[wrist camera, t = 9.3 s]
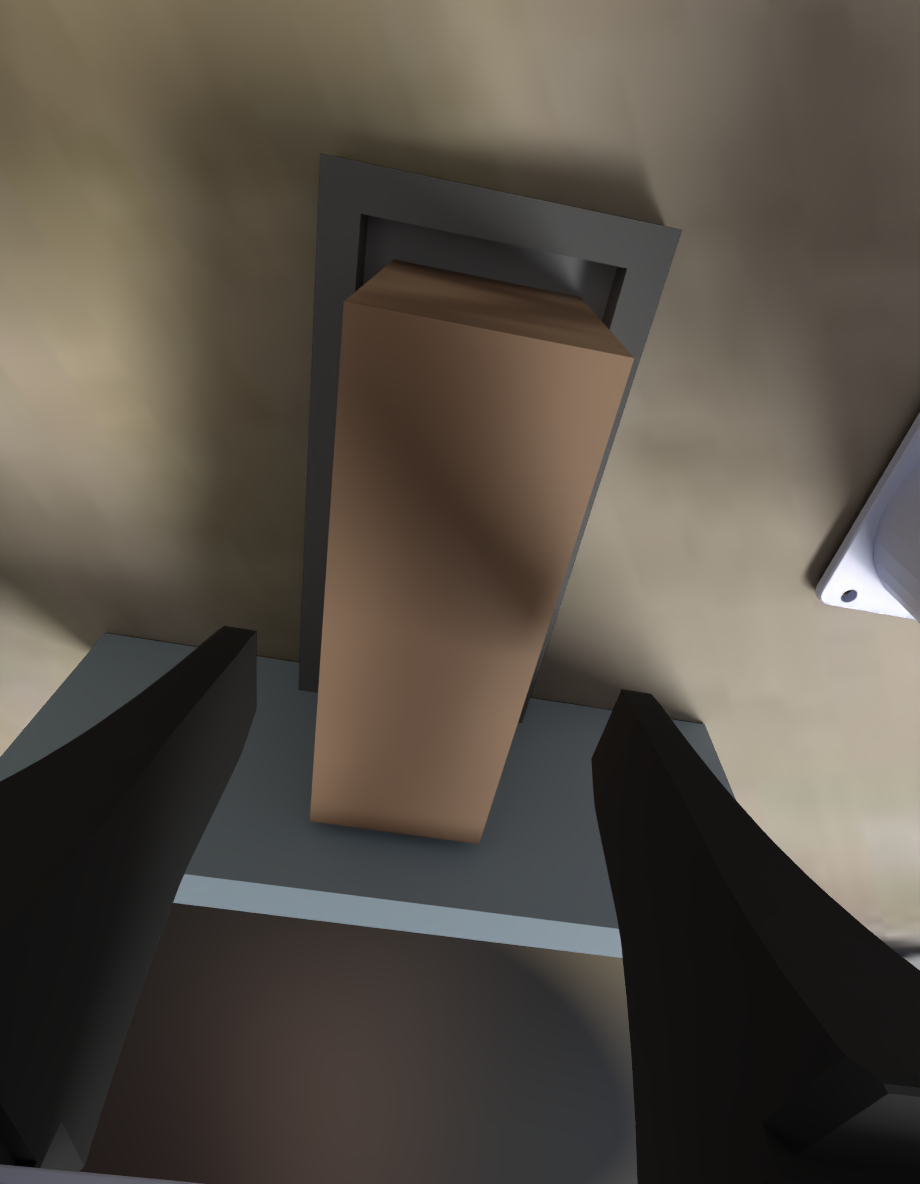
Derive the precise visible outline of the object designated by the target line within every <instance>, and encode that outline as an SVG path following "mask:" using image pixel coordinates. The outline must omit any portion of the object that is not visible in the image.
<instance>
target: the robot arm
mask: <svg viewBox="0 0 920 1184" xmlns="http://www.w3.org/2000/svg"><path fill="white" fill-rule="evenodd" d="M848 590H851V591H850V592H849V593H848V594H847V595H844V596H841V595H842V594H843V593H844V592H845V591H848ZM815 593H816V596H817V597H818V598H819V600H820V601H821V602H822V603H824V604H826V605H831V606H837V607H843V608H849V609H855V610H861V611H866V612H872V613H878V614H884V615H890V616H896V617H902V618H908V619H914V620H917V621H918V622H919V623H920V413H919V414H918V416H917V418H916V419H915V421H914V423H913V424H912V426H911V428H910V429H909V431H908V433H907V434H906V436H905V438H904V439H903V441H902V443H901V445H900V446H899V448H898V450H897V451H896V453H895V455H894V456H893V458H892V460H891V461H890V463H889V465H888V466H887V468H886V470H885V472H884V473H883V475H882V477H881V478H880V480H879V482H878V483H877V485H876V487H875V488H874V490H873V492H872V493H871V495H870V497H869V499H868V500H867V502H866V504H865V505H864V507H863V509H862V510H861V512H860V514H859V515H858V517H857V519H856V520H855V522H854V524H853V526H852V527H851V529H850V531H849V532H848V534H847V536H846V537H845V539H844V541H843V542H842V544H841V546H840V547H839V549H838V551H837V553H836V554H835V556H834V558H833V559H832V561H831V563H830V564H829V566H828V568H827V569H826V571H825V573H824V574H823V576H822V578H821V580H820V581H819V583H818V585H817V587H816V589H815ZM256 709H257V631H253V630H247V629H240V628H234V627H228V626H224V627H222V628H220V629H219V630H218V631H216V632H215V633H214V634H213V635H212V636H210V637H209V638H208V639H207V640H206V641H204V642H203V643H202V644H201V645H200V646H199V647H197V648H196V649H195V650H194V651H193V652H191V653H190V654H189V655H188V656H187V657H185V658H184V659H183V660H182V661H180V662H179V663H178V664H177V665H175V666H174V667H173V668H172V669H171V670H169V671H168V672H167V673H165V674H164V675H163V676H162V677H160V678H159V679H158V680H156V681H155V682H154V683H153V684H151V685H150V686H149V687H147V688H146V689H145V690H143V691H142V692H141V693H140V694H138V695H137V696H136V697H134V698H133V699H132V700H130V701H129V702H127V703H126V704H124V705H123V706H122V707H120V708H119V709H117V710H116V711H114V712H113V713H112V714H110V715H109V716H107V717H106V718H105V719H103V720H102V721H100V722H99V723H97V724H96V725H95V726H93V727H92V728H90V729H89V730H87V731H85V732H84V733H82V734H81V735H79V736H78V737H76V738H75V739H73V740H71V741H70V742H68V743H67V744H65V745H63V746H62V747H60V748H59V749H57V750H55V751H54V752H52V753H50V754H49V755H47V756H45V757H44V758H42V759H40V760H39V761H37V762H35V763H33V764H32V765H30V766H28V767H26V768H24V769H22V770H21V771H19V772H17V773H15V774H13V775H11V776H9V777H7V778H6V779H4V780H2V781H0V1184H201V1183H189V1182H180V1181H169V1180H158V1179H148V1178H137V1177H126V1176H116V1175H106V1174H94V1173H85V1172H84V1173H83V1172H79V1171H80V1170H81V1169H82V1168H83V1167H84V1165H85V1162H86V1159H87V1156H88V1153H89V1149H90V1146H91V1142H92V1139H93V1136H94V1133H95V1130H96V1127H97V1124H98V1120H99V1117H100V1114H101V1111H102V1108H103V1104H104V1101H105V1098H106V1095H107V1092H108V1089H109V1086H110V1082H111V1079H112V1076H113V1073H114V1070H115V1067H116V1064H117V1060H118V1058H119V1055H120V1052H121V1049H122V1046H123V1043H124V1040H125V1037H126V1034H127V1031H128V1028H129V1025H130V1022H131V1019H132V1016H133V1013H134V1010H135V1007H136V1004H137V1001H138V998H139V996H140V993H141V990H142V987H143V984H144V981H145V979H146V975H147V973H148V970H149V967H150V965H151V962H152V959H153V956H154V953H155V950H156V948H157V945H158V942H159V939H160V936H161V934H162V931H163V928H164V925H165V923H166V920H167V918H168V915H169V912H170V910H171V907H172V904H173V901H174V899H175V896H176V893H177V891H178V888H179V885H180V883H181V881H182V878H183V876H184V874H185V872H186V869H187V867H188V865H189V862H190V860H191V858H192V856H193V854H194V852H195V850H196V848H197V846H198V844H199V842H200V840H201V837H202V835H203V833H204V831H205V829H206V827H207V825H208V823H209V821H210V819H211V817H212V815H213V813H214V811H215V809H216V807H217V804H218V802H219V800H220V798H221V796H222V794H223V792H224V790H225V788H226V786H227V784H228V782H229V780H230V777H231V775H232V773H233V771H234V769H235V767H236V765H237V763H238V761H239V758H240V756H241V754H242V751H243V748H244V745H245V742H246V739H247V737H248V734H249V731H250V728H251V725H252V722H253V718H254V715H255V712H256ZM591 763H592V780H593V793H594V805H595V811H596V817H597V822H598V827H599V832H600V837H601V842H602V847H603V852H604V857H605V862H606V867H607V872H608V876H609V881H610V886H611V891H612V896H613V901H614V906H615V910H616V915H617V921H618V927H619V933H620V939H621V947H622V957H623V966H624V976H625V985H626V995H627V1006H628V1018H629V1030H630V1042H631V1055H632V1070H633V1088H634V1102H635V1103H634V1104H635V1121H636V1148H637V1177H638V1184H920V970H918V969H917V968H916V967H914V966H913V965H912V964H911V963H909V962H908V961H907V960H905V959H904V958H903V957H902V956H900V955H899V954H898V953H896V952H895V951H894V950H893V949H891V948H890V947H889V946H888V945H886V944H885V943H884V942H883V941H882V940H880V939H879V938H878V937H877V936H875V935H874V934H873V933H872V932H871V931H869V930H868V929H867V928H866V927H865V926H863V925H862V924H861V923H860V922H859V921H858V920H856V919H855V918H854V917H853V916H852V915H851V914H850V913H848V912H847V911H846V910H845V909H844V908H843V907H842V906H840V905H839V904H838V903H837V902H836V901H835V900H834V899H832V898H831V897H830V896H829V895H828V894H827V893H826V892H825V891H823V890H822V889H821V888H820V887H819V886H818V885H817V884H816V883H815V882H814V881H813V880H812V879H811V878H809V877H808V876H807V875H806V874H805V873H804V872H803V871H802V870H801V869H800V868H799V867H798V866H797V865H796V864H795V863H794V862H793V861H792V860H791V859H790V858H789V857H788V856H787V855H786V854H785V853H784V852H783V851H782V850H781V849H780V848H779V847H778V846H777V845H776V844H775V843H774V842H773V841H772V840H771V839H770V838H769V837H768V836H767V834H766V833H765V832H764V831H763V830H762V829H761V828H760V827H759V826H758V825H757V824H756V823H755V821H754V820H753V819H752V818H751V817H750V816H749V815H748V814H747V812H746V811H745V810H744V809H743V808H742V807H741V806H740V805H739V803H738V802H737V801H736V800H735V799H734V798H733V796H732V795H731V794H730V793H729V792H728V791H727V789H726V788H725V787H724V786H723V785H722V783H721V782H720V781H719V780H718V779H717V777H716V776H715V775H714V774H713V772H712V771H711V770H710V769H709V767H708V766H707V765H706V764H705V762H704V761H703V760H702V759H701V757H700V756H699V755H698V754H697V752H696V751H695V750H694V748H693V747H692V746H691V745H690V743H689V742H688V741H687V739H686V738H685V737H684V735H683V734H682V733H681V732H680V730H679V729H678V728H677V726H676V725H675V724H674V722H673V721H672V720H671V718H670V717H669V716H668V714H667V713H666V712H665V711H664V709H663V708H662V707H661V705H660V704H659V703H658V702H657V700H656V699H655V698H654V697H653V695H652V694H648V693H642V692H635V691H629V690H623V689H622V690H621V692H620V694H619V697H618V699H617V701H616V703H615V706H614V708H613V710H612V713H611V715H610V717H609V719H608V722H607V724H606V726H605V729H604V731H603V733H602V735H601V738H600V740H599V742H598V745H597V747H596V749H595V751H594V754H593V756H592V758H591Z"/></svg>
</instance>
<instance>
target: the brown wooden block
mask: <svg viewBox="0 0 920 1184" xmlns="http://www.w3.org/2000/svg"><path fill="white" fill-rule="evenodd" d="M633 361H634V357H633V356H632V355H631V354H630V353H629V351H628V350H627V349H626V348H625V347H624V346H623V345H622V344H621V342H620V341H619V340H618V339H617V338H616V337H615V336H614V334H613V333H612V332H611V331H610V330H609V329H608V328H607V327H606V325H605V324H604V323H603V322H602V321H601V320H600V319H599V317H598V316H597V315H596V314H595V313H594V312H593V311H592V310H591V308H590V307H589V306H588V305H587V304H586V303H585V302H584V300H583V299H582V298H581V297H579V296H574V295H569V294H564V293H559V292H554V291H549V290H544V289H539V288H534V287H529V286H524V285H519V284H514V283H509V282H504V281H499V280H494V279H489V278H484V277H479V276H474V275H469V274H464V273H460V272H455V271H450V270H445V269H440V268H435V267H430V266H425V265H420V264H415V263H410V262H405V261H400V260H395V259H394V260H393V261H392V262H390V263H389V264H388V265H387V266H386V267H384V268H383V269H382V270H381V271H380V272H378V273H377V274H376V275H375V276H374V277H372V278H371V279H370V280H369V281H368V282H367V283H365V284H364V285H363V286H362V287H361V288H359V289H358V290H357V291H356V292H355V293H353V294H352V295H351V296H350V297H349V298H347V299H346V300H345V301H344V308H343V323H342V339H341V354H340V369H339V384H338V399H337V415H336V430H335V445H334V460H333V475H332V490H331V506H330V521H329V536H328V551H327V566H326V581H325V597H324V612H323V627H322V642H321V657H320V672H319V688H318V703H317V718H316V733H315V748H314V764H313V779H312V794H311V809H310V821H311V822H318V823H325V824H333V825H340V826H348V827H355V828H363V829H370V830H377V831H385V832H392V833H400V834H407V835H415V836H422V837H429V838H437V839H444V840H452V841H459V842H467V843H474V844H479V843H480V840H481V837H482V833H483V830H484V827H485V824H486V821H487V818H488V815H489V812H490V808H491V805H492V802H493V799H494V796H495V793H496V790H497V787H498V783H499V780H500V777H501V774H502V771H503V768H504V765H505V761H506V758H507V755H508V752H509V749H510V746H511V743H512V740H513V736H514V733H515V730H516V727H517V724H518V721H519V718H520V715H521V711H522V708H523V705H524V702H525V699H526V696H527V693H528V689H529V686H530V683H531V680H532V677H533V674H534V671H535V668H536V664H537V661H538V658H539V655H540V652H541V649H542V646H543V643H544V639H545V636H546V633H547V630H548V627H549V624H550V621H551V618H552V614H553V611H554V608H555V605H556V602H557V599H558V596H559V592H560V589H561V586H562V583H563V580H564V577H565V574H566V571H567V567H568V564H569V561H570V558H571V555H572V552H573V549H574V546H575V542H576V539H577V536H578V533H579V530H580V527H581V524H582V520H583V517H584V514H585V511H586V508H587V505H588V502H589V499H590V495H591V492H592V489H593V486H594V483H595V480H596V477H597V474H598V470H599V467H600V464H601V461H602V458H603V455H604V452H605V448H606V445H607V442H608V439H609V436H610V433H611V430H612V427H613V423H614V420H615V417H616V414H617V411H618V408H619V405H620V402H621V398H622V395H623V392H624V389H625V386H626V383H627V380H628V377H629V373H630V370H631V367H632V364H633Z"/></svg>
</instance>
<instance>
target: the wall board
mask: <svg viewBox="0 0 920 1184" xmlns="http://www.w3.org/2000/svg"><path fill="white" fill-rule="evenodd" d="M681 232H682V230H681V229H676V228H672V227H667V226H662V225H658V224H653V223H648V222H643V221H639V220H634V219H629V218H624V217H620V216H615V215H610V214H605V213H601V212H596V211H591V210H587V209H582V208H577V207H572V206H568V205H563V204H558V203H553V202H549V201H544V200H539V199H534V198H530V197H525V196H520V195H516V194H511V193H506V192H501V191H497V190H492V189H487V188H482V187H478V186H473V185H468V184H463V183H459V182H454V181H449V180H445V179H440V178H435V177H430V176H426V175H421V174H416V173H411V172H407V171H402V170H397V169H392V168H388V167H383V166H378V165H373V164H369V163H364V162H359V161H355V160H350V159H345V158H340V157H336V156H331V155H326V154H321V153H320V174H319V199H318V223H317V247H316V272H315V296H314V320H313V344H312V369H311V393H310V417H309V442H308V466H307V490H306V515H305V539H304V563H303V587H302V612H301V636H300V660H299V663H298V662H292V661H285V660H279V659H272V658H266V657H259V656H257V709H256V712H255V715H254V718H253V722H252V725H251V728H250V731H249V734H248V737H247V739H246V742H245V745H244V748H243V751H242V754H241V756H240V758H239V761H238V763H237V765H236V767H235V769H234V771H233V773H232V775H231V777H230V780H229V782H228V784H227V786H226V788H225V790H224V792H223V794H222V796H221V798H220V800H219V802H218V804H217V807H216V809H215V811H214V813H213V815H212V817H211V819H210V821H209V823H208V825H207V827H206V829H205V831H204V833H203V835H202V837H201V840H200V842H199V844H198V846H197V848H196V850H195V852H194V854H193V856H192V858H191V860H190V862H189V865H188V867H187V869H186V872H185V874H184V876H183V878H182V881H181V883H180V885H179V888H178V891H177V893H176V896H175V899H174V901H173V903H181V904H189V905H197V906H205V907H213V908H214V907H215V908H222V909H230V910H238V911H246V912H254V913H262V914H270V915H278V916H286V917H295V918H304V919H311V920H320V921H327V922H335V923H343V924H352V925H360V926H368V927H376V928H384V929H393V930H401V931H409V932H416V933H425V934H433V935H441V936H449V937H457V938H465V939H474V940H481V941H489V942H498V943H507V944H514V945H522V946H530V947H538V948H546V949H554V950H563V951H571V952H579V953H587V954H595V955H603V956H611V957H619V958H623V957H622V947H621V939H620V933H619V927H618V921H617V915H616V910H615V906H614V901H613V896H612V891H611V886H610V881H609V876H608V872H607V867H606V862H605V857H604V852H603V847H602V842H601V837H600V832H599V827H598V822H597V817H596V811H595V805H594V793H593V780H592V763H591V758H592V756H593V754H594V751H595V749H596V747H597V745H598V742H599V740H600V738H601V735H602V733H603V731H604V729H605V726H606V724H607V722H608V719H609V717H610V715H611V713H612V710H607V709H600V708H594V707H587V706H581V705H574V704H568V703H561V702H554V701H548V700H541V699H535V698H530V697H531V694H532V691H533V688H534V685H535V682H536V679H537V676H538V672H539V669H540V666H541V663H542V660H543V657H544V654H545V651H546V648H547V645H548V642H549V639H550V635H551V632H552V629H553V626H554V623H555V620H556V617H557V614H558V611H559V608H560V605H561V602H562V599H563V595H564V592H565V589H566V586H567V583H568V580H569V577H570V574H571V571H572V568H573V565H574V562H575V558H576V555H577V552H578V549H579V546H580V543H581V540H582V537H583V534H584V531H585V528H586V525H587V521H588V518H589V515H590V512H591V509H592V506H593V503H594V500H595V497H596V494H597V491H598V488H599V484H600V481H601V478H602V475H603V472H604V469H605V466H606V463H607V460H608V457H609V454H610V451H611V447H612V444H613V441H614V438H615V435H616V432H617V429H618V426H619V423H620V420H621V417H622V414H623V410H624V407H625V404H626V401H627V398H628V395H629V392H630V389H631V386H632V383H633V380H634V377H635V373H636V370H637V367H638V364H639V361H640V358H641V355H642V352H643V349H644V346H645V343H646V340H647V336H648V333H649V330H650V327H651V324H652V321H653V318H654V315H655V312H656V309H657V306H658V303H659V299H660V296H661V293H662V290H663V287H664V284H665V281H666V278H667V275H668V272H669V269H670V266H671V263H672V259H673V256H674V253H675V250H676V247H677V244H678V241H679V238H680V235H681ZM394 259H395V260H400V261H405V262H410V263H415V264H420V265H425V266H430V267H435V268H440V269H445V270H450V271H455V272H460V273H464V274H469V275H474V276H479V277H484V278H489V279H494V280H499V281H504V282H509V283H514V284H519V285H524V286H529V287H534V288H539V289H544V290H549V291H554V292H559V293H564V294H569V295H574V296H579V297H581V298H582V299H583V300H584V302H585V303H586V304H587V305H588V306H589V307H590V308H591V310H592V311H593V312H594V313H595V314H596V315H597V316H598V317H599V319H600V320H601V321H602V322H603V323H604V324H605V325H606V327H607V328H608V329H609V330H610V331H611V332H612V333H613V334H614V336H615V337H616V338H617V339H618V340H619V341H620V342H621V344H622V345H623V346H624V347H625V348H626V349H627V350H628V351H629V353H630V354H631V355H632V356H633V357H634V361H633V364H632V367H631V370H630V373H629V377H628V380H627V383H626V386H625V389H624V392H623V395H622V398H621V402H620V405H619V408H618V411H617V414H616V417H615V420H614V423H613V427H612V430H611V433H610V436H609V439H608V442H607V445H606V448H605V452H604V455H603V458H602V461H601V464H600V467H599V470H598V474H597V477H596V480H595V483H594V486H593V489H592V492H591V495H590V499H589V502H588V505H587V508H586V511H585V514H584V517H583V520H582V524H581V527H580V530H579V533H578V536H577V539H576V542H575V546H574V549H573V552H572V555H571V558H570V561H569V564H568V567H567V571H566V574H565V577H564V580H563V583H562V586H561V589H560V592H559V596H558V599H557V602H556V605H555V608H554V611H553V614H552V618H551V621H550V624H549V627H548V630H547V633H546V636H545V639H544V643H543V646H542V649H541V652H540V655H539V658H538V661H537V664H536V668H535V671H534V674H533V677H532V680H531V683H530V686H529V689H528V693H527V696H526V699H525V702H524V705H523V708H522V711H521V715H520V718H519V721H518V724H517V727H516V730H515V733H514V736H513V740H512V743H511V746H510V749H509V752H508V755H507V758H506V761H505V765H504V768H503V771H502V774H501V777H500V780H499V783H498V787H497V790H496V793H495V796H494V799H493V802H492V805H491V808H490V812H489V815H488V818H487V821H486V824H485V827H484V830H483V833H482V837H481V840H480V843H479V844H474V843H467V842H459V841H452V840H444V839H437V838H429V837H422V836H415V835H407V834H400V833H392V832H385V831H377V830H370V829H363V828H355V827H348V826H340V825H333V824H325V823H318V822H311V821H310V809H311V794H312V779H313V764H314V748H315V733H316V718H317V703H318V688H319V672H320V657H321V642H322V627H323V612H324V597H325V581H326V566H327V551H328V536H329V521H330V506H331V490H332V475H333V460H334V445H335V430H336V415H337V399H338V384H339V369H340V354H341V339H342V323H343V308H344V301H345V300H346V299H347V298H349V297H350V296H351V295H352V294H353V293H355V292H356V291H357V290H358V289H359V288H361V287H362V286H363V285H364V284H365V283H367V282H368V281H369V280H370V279H371V278H372V277H374V276H375V275H376V274H377V273H378V272H380V271H381V270H382V269H383V268H384V267H386V266H387V265H388V264H389V263H390V262H392V261H393V260H394ZM196 648H197V647H193V646H187V645H180V644H174V643H167V642H161V641H154V640H148V639H141V638H134V637H128V636H121V635H115V634H108V633H105V634H104V635H103V636H102V637H101V638H100V639H99V641H98V642H97V643H96V644H95V645H94V647H93V648H92V649H91V650H90V651H89V653H88V654H87V655H86V656H85V657H84V658H83V660H82V661H81V662H80V663H79V664H78V666H77V667H76V668H75V669H74V670H73V671H72V673H71V674H70V675H69V676H68V677H67V679H66V680H65V681H64V682H63V683H62V685H61V686H60V687H59V688H58V689H57V690H56V692H55V693H54V694H53V695H52V696H51V698H50V699H49V700H48V701H47V702H46V704H45V705H44V706H43V707H42V708H41V709H40V711H39V712H38V713H37V714H36V715H35V717H34V718H33V719H32V720H31V721H30V723H29V724H28V725H27V726H26V727H25V728H24V730H23V731H22V732H21V733H20V734H19V736H18V737H17V738H16V739H15V740H14V742H13V743H12V744H11V745H10V746H9V747H8V749H7V750H6V751H5V752H4V753H3V755H2V756H1V757H0V781H2V780H4V779H6V778H7V777H9V776H11V775H13V774H15V773H17V772H19V771H21V770H22V769H24V768H26V767H28V766H30V765H32V764H33V763H35V762H37V761H39V760H40V759H42V758H44V757H45V756H47V755H49V754H50V753H52V752H54V751H55V750H57V749H59V748H60V747H62V746H63V745H65V744H67V743H68V742H70V741H71V740H73V739H75V738H76V737H78V736H79V735H81V734H82V733H84V732H85V731H87V730H89V729H90V728H92V727H93V726H95V725H96V724H97V723H99V722H100V721H102V720H103V719H105V718H106V717H107V716H109V715H110V714H112V713H113V712H114V711H116V710H117V709H119V708H120V707H122V706H123V705H124V704H126V703H127V702H129V701H130V700H132V699H133V698H134V697H136V696H137V695H138V694H140V693H141V692H142V691H143V690H145V689H146V688H147V687H149V686H150V685H151V684H153V683H154V682H155V681H156V680H158V679H159V678H160V677H162V676H163V675H164V674H165V673H167V672H168V671H169V670H171V669H172V668H173V667H174V666H175V665H177V664H178V663H179V662H180V661H182V660H183V659H184V658H185V657H187V656H188V655H189V654H190V653H191V652H193V651H194V650H195V649H196ZM671 720H672V719H671ZM672 721H673V722H674V724H675V725H676V726H677V728H678V729H679V730H680V732H681V733H682V734H683V735H684V737H685V738H686V739H687V741H688V742H689V743H690V745H691V746H692V747H693V748H694V750H695V751H696V752H697V754H698V755H699V756H700V757H701V759H702V760H703V761H704V762H705V764H706V765H707V766H708V767H709V769H710V770H711V771H712V772H713V774H714V775H715V776H716V777H717V779H718V780H719V781H720V782H721V783H722V785H723V786H724V787H725V788H726V789H727V791H728V792H729V793H730V794H731V795H732V796H733V798H734V799H735V797H734V794H733V792H732V790H731V787H730V785H729V782H728V780H727V777H726V775H725V773H724V770H723V768H722V765H721V763H720V760H719V758H718V756H717V753H716V751H715V748H714V746H713V744H712V741H711V739H710V736H709V734H708V731H707V729H706V727H705V724H699V723H692V722H686V721H679V720H672ZM735 800H736V799H735Z"/></svg>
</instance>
